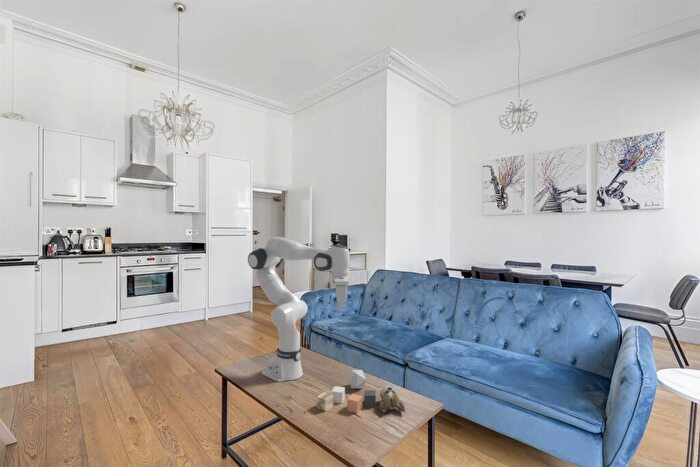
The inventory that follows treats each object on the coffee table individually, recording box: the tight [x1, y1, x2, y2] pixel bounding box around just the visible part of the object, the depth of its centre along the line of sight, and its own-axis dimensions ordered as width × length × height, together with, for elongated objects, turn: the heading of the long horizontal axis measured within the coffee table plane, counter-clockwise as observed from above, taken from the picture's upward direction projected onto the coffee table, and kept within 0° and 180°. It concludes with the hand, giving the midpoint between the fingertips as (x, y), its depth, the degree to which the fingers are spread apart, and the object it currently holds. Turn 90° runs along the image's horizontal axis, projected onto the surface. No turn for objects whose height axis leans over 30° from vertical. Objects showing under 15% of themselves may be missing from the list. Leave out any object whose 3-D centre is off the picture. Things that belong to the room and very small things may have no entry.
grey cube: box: [331, 385, 346, 404], centre depth 145 cm, size 5×5×5 cm
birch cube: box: [316, 391, 334, 412], centre depth 139 cm, size 5×5×5 cm
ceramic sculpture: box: [379, 382, 406, 413], centre depth 140 cm, size 11×9×15 cm
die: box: [348, 369, 367, 390], centre depth 157 cm, size 8×9×10 cm
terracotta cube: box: [346, 393, 364, 414], centre depth 138 cm, size 5×5×5 cm
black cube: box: [363, 389, 377, 408], centre depth 142 cm, size 5×5×5 cm
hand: (340, 308), depth 150 cm, fingers open, 8 cm apart
